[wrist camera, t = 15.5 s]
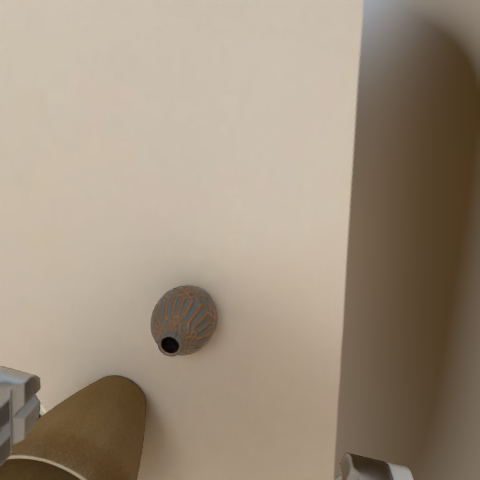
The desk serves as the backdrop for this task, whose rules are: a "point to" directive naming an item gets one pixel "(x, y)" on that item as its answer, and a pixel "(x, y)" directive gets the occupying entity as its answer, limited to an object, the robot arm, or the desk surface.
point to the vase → (183, 320)
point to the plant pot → (85, 437)
